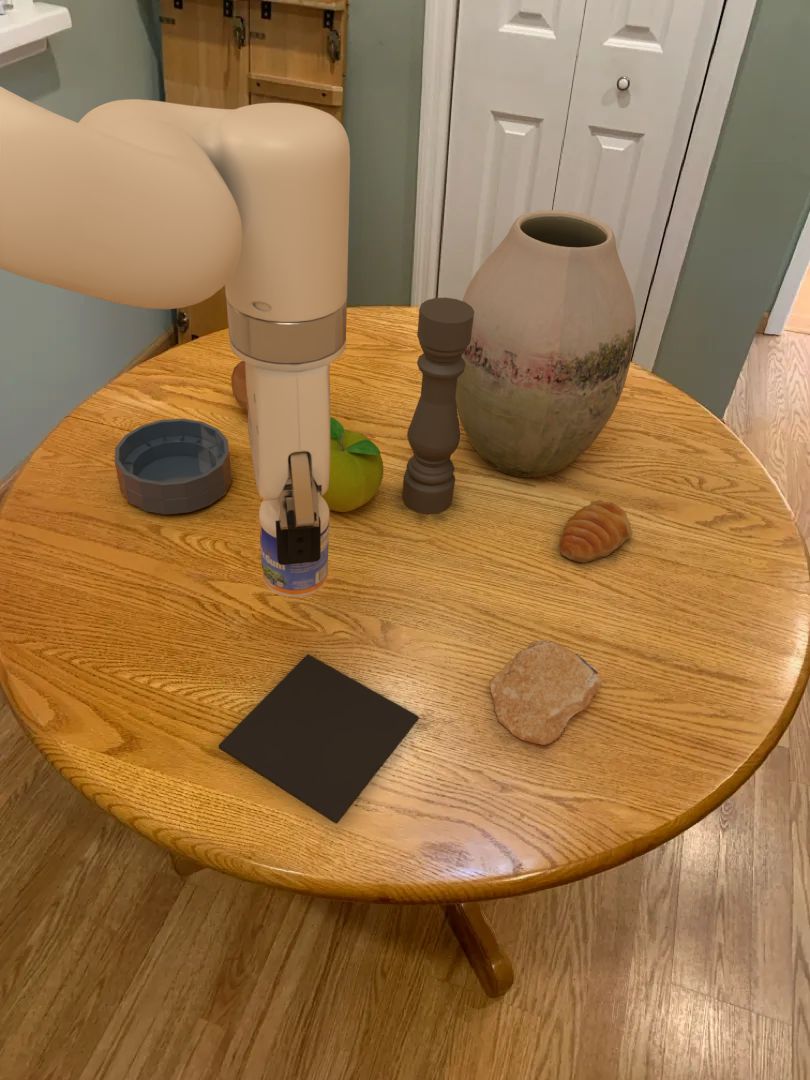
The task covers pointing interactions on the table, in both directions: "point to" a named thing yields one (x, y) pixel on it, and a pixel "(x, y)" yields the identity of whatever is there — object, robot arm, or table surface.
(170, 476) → the bowl
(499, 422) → the vase
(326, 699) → the mat
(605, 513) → the pastry
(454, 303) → the candle holder
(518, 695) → the stone
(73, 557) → the table surface
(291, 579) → the pill bottle
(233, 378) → the potato
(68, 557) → the table surface
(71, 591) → the table surface
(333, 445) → the fruit
